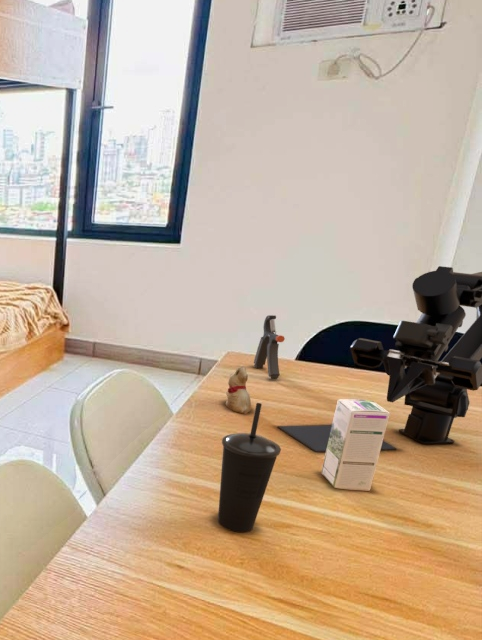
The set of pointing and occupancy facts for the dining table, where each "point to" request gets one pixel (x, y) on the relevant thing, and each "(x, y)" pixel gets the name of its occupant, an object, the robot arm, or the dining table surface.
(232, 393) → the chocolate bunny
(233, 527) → the drinking cup
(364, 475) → the syrup box
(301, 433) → the placemat
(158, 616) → the dining table surface
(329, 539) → the dining table surface
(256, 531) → the dining table surface
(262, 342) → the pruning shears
